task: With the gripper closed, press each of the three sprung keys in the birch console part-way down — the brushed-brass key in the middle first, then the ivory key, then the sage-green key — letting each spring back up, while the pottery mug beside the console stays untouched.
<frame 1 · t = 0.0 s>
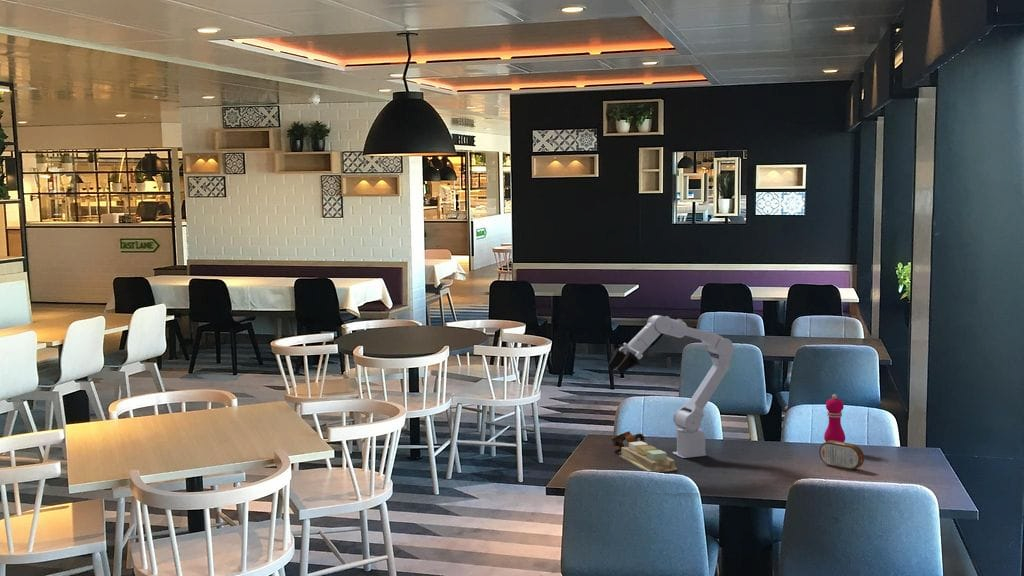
hand: (614, 369, 341), 32 cm above the table, tool tilted 50°, fingers open, 7 cm apart
brass key: (647, 451, 341), point 4 cm above the table, slide at 0.0 cm
ivory key: (638, 446, 348), point 4 cm above the table, slide at 0.0 cm
tin: (840, 468, 330), on the table
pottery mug: (629, 451, 360), on the table
sage key: (656, 455, 334), point 4 cm above the table, slide at 0.0 cm
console: (647, 463, 341), on the table
pepper mill: (834, 450, 354), on the table
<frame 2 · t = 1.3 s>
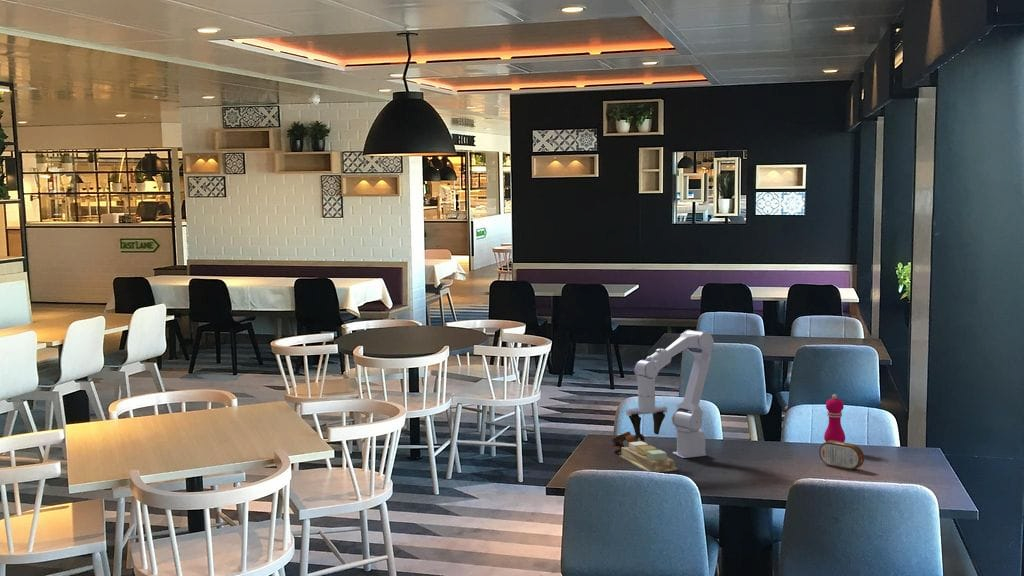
hand: (647, 434, 341), 10 cm above the table, tool pointing down, fingers open, 6 cm apart
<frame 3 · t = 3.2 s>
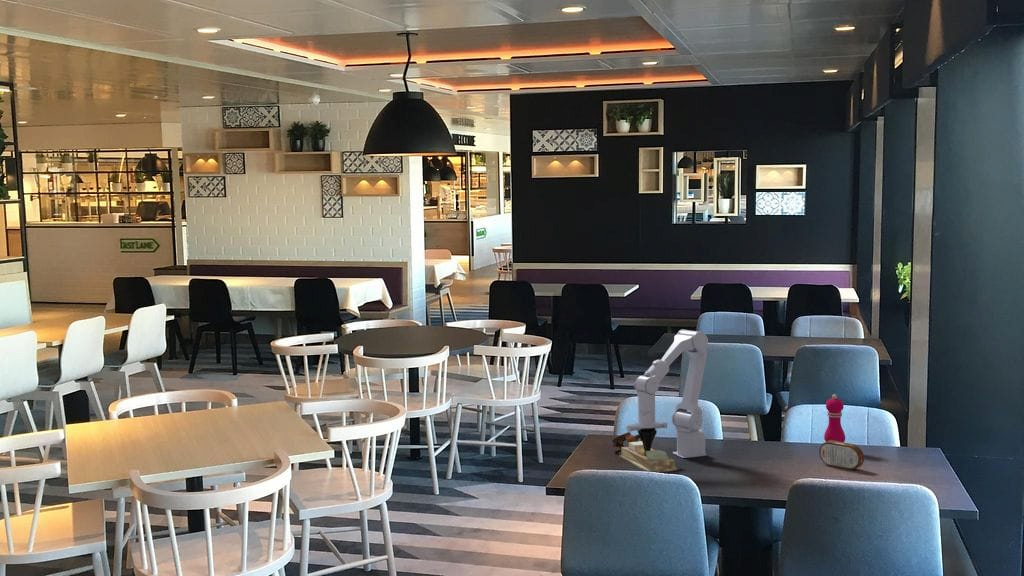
hand: (647, 450, 341), 5 cm above the table, tool pointing down, fingers closed, pressing on brass key
brass key: (647, 453, 341), point 3 cm above the table, slide at 0.9 cm, touching gripper
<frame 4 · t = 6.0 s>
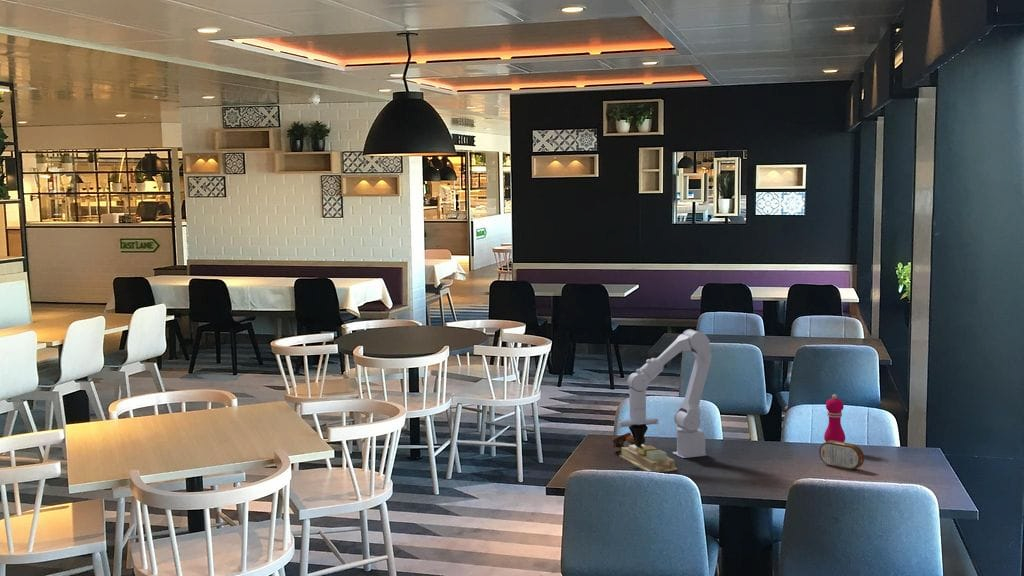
hand: (638, 446, 348), 4 cm above the table, tool pointing down, fingers closed, pressing on ivory key
brass key: (647, 451, 341), point 4 cm above the table, slide at 0.0 cm
ivory key: (638, 449, 348), point 3 cm above the table, slide at 1.0 cm, touching gripper
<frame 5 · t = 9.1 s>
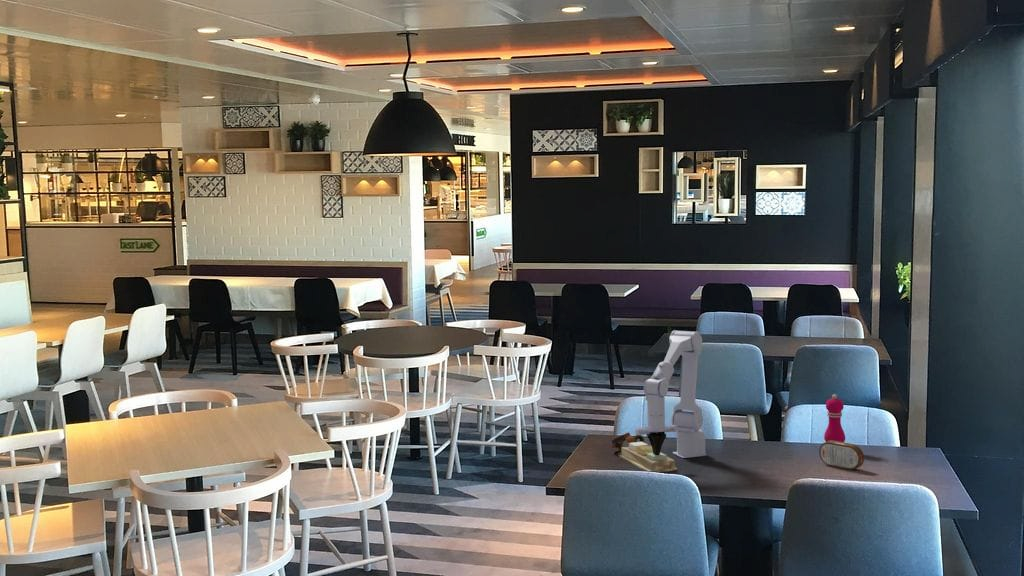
hand: (656, 454, 334), 5 cm above the table, tool pointing down, fingers closed, pressing on sage key
ivory key: (638, 447, 348), point 4 cm above the table, slide at 0.2 cm
sage key: (656, 458, 334), point 3 cm above the table, slide at 0.8 cm, touching gripper
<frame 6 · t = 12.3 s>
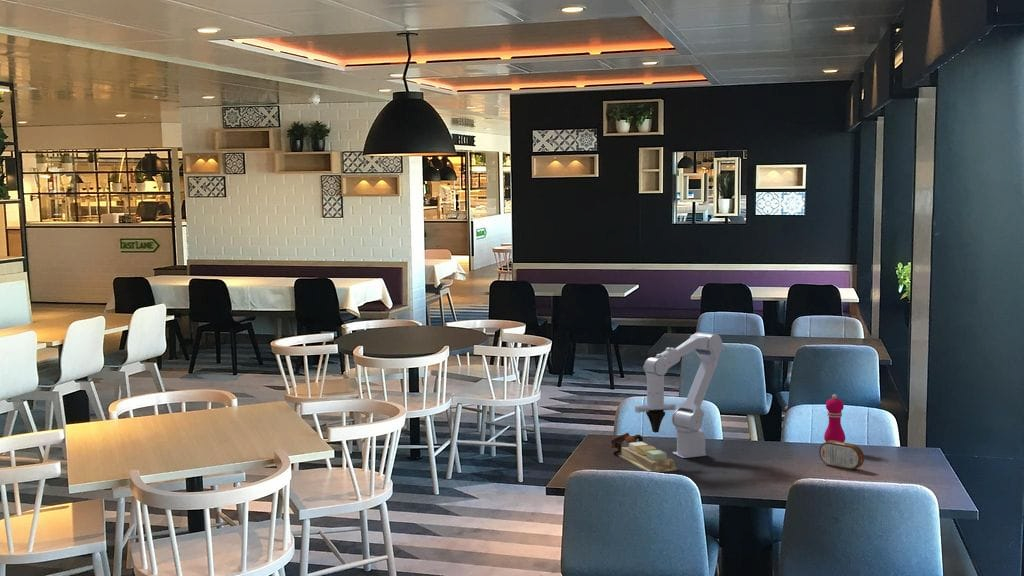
hand: (655, 431, 343), 10 cm above the table, tool pointing down, fingers closed
sage key: (656, 455, 334), point 4 cm above the table, slide at 0.1 cm
at the end: brass key slide at 0.0 cm; ivory key slide at 0.2 cm; sage key slide at 0.1 cm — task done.
